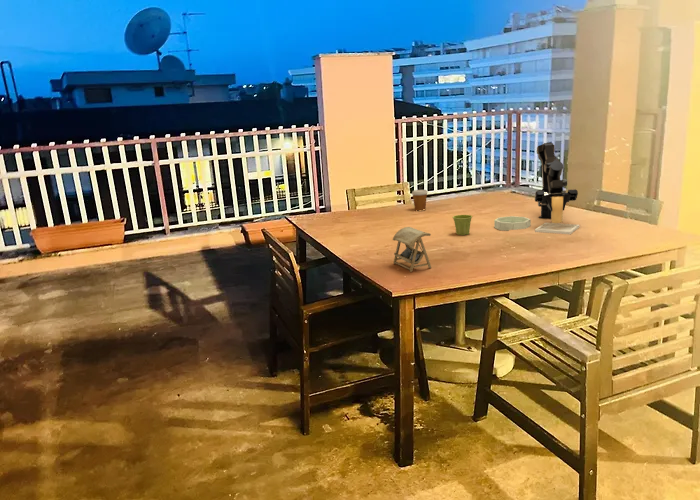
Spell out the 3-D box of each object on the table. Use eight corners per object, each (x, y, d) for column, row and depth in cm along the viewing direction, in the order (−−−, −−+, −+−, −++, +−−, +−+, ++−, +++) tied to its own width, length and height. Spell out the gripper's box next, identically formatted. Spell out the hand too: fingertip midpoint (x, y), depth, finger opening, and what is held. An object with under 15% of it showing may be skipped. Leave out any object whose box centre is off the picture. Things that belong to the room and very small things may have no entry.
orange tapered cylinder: (552, 220, 259) (553, 195, 256) (563, 221, 256) (564, 196, 253) (549, 222, 255) (550, 197, 252) (560, 223, 252) (561, 197, 249)
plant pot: (450, 235, 260) (449, 218, 258) (456, 231, 268) (455, 214, 266) (469, 236, 256) (469, 218, 254) (474, 232, 264) (474, 214, 262)
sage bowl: (502, 223, 279) (502, 215, 278) (533, 225, 270) (533, 217, 269) (490, 229, 267) (490, 221, 266) (522, 232, 258) (522, 223, 257)
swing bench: (392, 264, 219) (390, 228, 215) (412, 260, 223) (411, 225, 219) (410, 272, 206) (409, 235, 202) (432, 268, 210) (431, 231, 206)
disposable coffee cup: (429, 211, 326) (428, 191, 323) (413, 212, 326) (412, 192, 323) (427, 208, 335) (426, 189, 332) (411, 209, 335) (411, 190, 332)
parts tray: (545, 226, 266) (545, 222, 265) (579, 228, 256) (579, 224, 256) (534, 233, 253) (534, 229, 253) (570, 236, 244) (570, 231, 243)
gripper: (535, 174, 255) (538, 201, 248) (577, 172, 251) (581, 199, 244) (533, 187, 265) (536, 214, 257) (573, 186, 261) (577, 213, 253)
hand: (557, 210), depth 253 cm, fingers closed on orange tapered cylinder, 5 cm apart
